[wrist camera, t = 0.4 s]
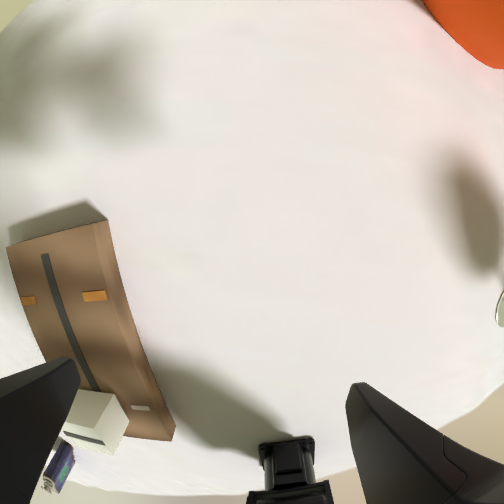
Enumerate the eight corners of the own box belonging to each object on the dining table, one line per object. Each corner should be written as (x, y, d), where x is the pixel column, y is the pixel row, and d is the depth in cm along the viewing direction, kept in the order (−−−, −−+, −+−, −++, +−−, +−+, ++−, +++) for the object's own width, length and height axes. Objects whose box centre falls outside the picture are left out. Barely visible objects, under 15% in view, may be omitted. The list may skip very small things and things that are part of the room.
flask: (75, 464, 31) (56, 501, 21) (63, 456, 31) (42, 492, 21) (74, 445, 29) (49, 488, 19) (59, 436, 29) (33, 478, 19)
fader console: (176, 425, 26) (171, 442, 23) (92, 416, 26) (85, 428, 24) (107, 219, 20) (91, 224, 18) (21, 241, 21) (5, 247, 18)
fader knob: (129, 421, 22) (113, 456, 17) (92, 415, 23) (74, 446, 18) (114, 393, 21) (93, 429, 16) (77, 388, 22) (54, 419, 17)
